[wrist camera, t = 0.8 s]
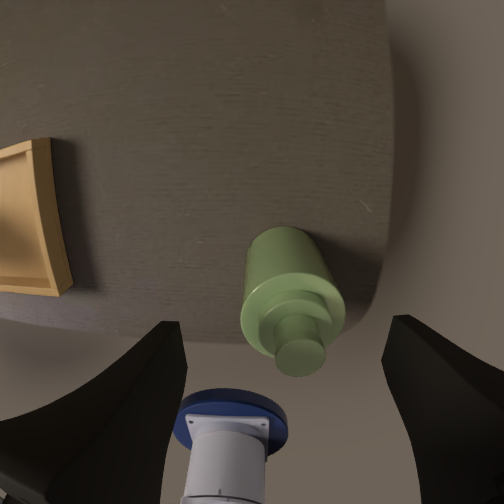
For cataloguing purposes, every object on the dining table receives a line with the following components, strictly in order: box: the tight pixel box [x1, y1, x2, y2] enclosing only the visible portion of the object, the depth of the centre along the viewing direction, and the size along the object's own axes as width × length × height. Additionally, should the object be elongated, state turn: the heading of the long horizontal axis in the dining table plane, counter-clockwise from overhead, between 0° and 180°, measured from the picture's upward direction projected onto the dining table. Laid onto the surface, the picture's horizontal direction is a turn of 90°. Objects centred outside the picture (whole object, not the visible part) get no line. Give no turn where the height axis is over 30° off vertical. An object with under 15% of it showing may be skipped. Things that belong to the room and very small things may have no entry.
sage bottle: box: [240, 227, 346, 377], centre depth 14 cm, size 4×4×8 cm
